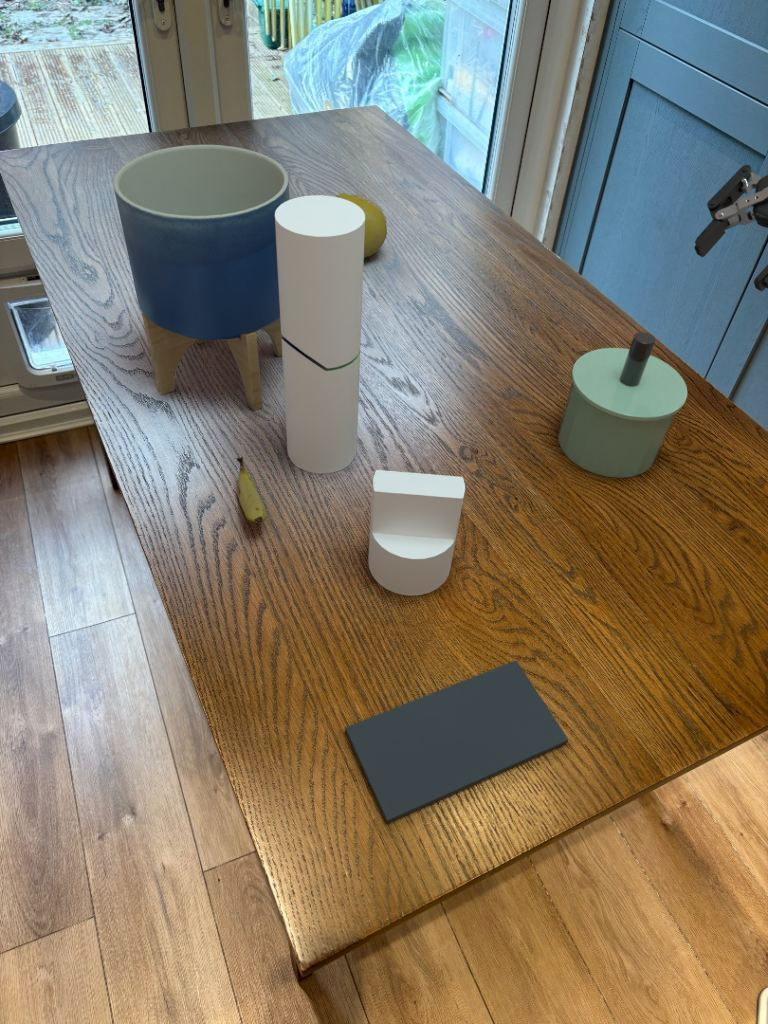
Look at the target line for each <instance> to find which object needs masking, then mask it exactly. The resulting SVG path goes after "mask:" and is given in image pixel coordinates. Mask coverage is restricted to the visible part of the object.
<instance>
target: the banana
mask: <svg viewBox="0 0 768 1024" xmlns="http://www.w3.org/2000/svg"><path fill="white" fill-rule="evenodd" d="M236 461H237V462H238V463H239V467H240V468H239V476H238V479H237V481H238V483H237V495H238V501H239V504H240V506H241V509H242V512H243V513H244V515H245V517H246V519H247V520H248V521H250V522H252V523H255V524H261V523H263V522H264V521H266V519H267V510H266V507H265V504H264V502H263V500H262V498H261V495H260V493H259V490H258V489H257V486H256V483H255V481H254V479H253V478H252V476H251V475H250V473H248V471H247V469H246V466H245V463H244V456H241V457H236Z"/></svg>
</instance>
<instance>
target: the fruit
mask: <svg viewBox="0 0 768 1024" xmlns="http://www.w3.org/2000/svg"><path fill="white" fill-rule="evenodd" d="M334 197H338V198H342V199H345V200H348V201H350V202H353V203H354V204H356V205H358V206H359V207H360V208H361V209H362V210H363V212H364V214H365V236H364V259H366V258H368V257H371V256H373V255H374V254H375V253H376V252H378V251H379V250H380V249H381V248H382V247H383V244H384V243H385V241H386V238H387V234H388V228H387V218H386V216H385V214H384V212H383V208H382V207H381V206H380V205H379V204H378V203H376V202H375V201H374V200H373V199H370V198H369V197H366V196H364V195H359V194H348V193H344V192H343V193H339V194H337V195H336V196H334ZM367 256H368V257H367ZM365 257H366V258H365Z"/></svg>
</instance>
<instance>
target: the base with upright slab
mask: <svg viewBox="0 0 768 1024" xmlns="http://www.w3.org/2000/svg"><path fill="white" fill-rule="evenodd" d="M465 491H466V485H465V479H464V477H463V476H456V475H444V474H433V473H420V472H409V471H396V470H395V471H394V470H383V469H376V470H375V472H374V474H373V479H372V490H371V509H370V521H369V538H368V539H369V541H368V555H367V556H368V557H367V562H368V569H369V572H370V574H371V576H372V577H373V579H374V580H375V581H376V582H377V584H378V585H380V586H382V587H383V588H384V589H386V590H387V591H390V592H392V593H394V594H397V595H403V596H407V597H409V596H410V597H411V596H413V597H414V596H423V595H427V594H431V593H432V592H434V591H436V590H438V589H439V588H440V587H441V586H442V585H443V584H444V583H446V581H447V579H448V577H449V576H450V573H451V572H450V571H451V567H452V562H453V556H454V551H455V545H456V541H457V534H458V530H459V524H460V518H461V513H462V509H463V503H464V497H465Z"/></svg>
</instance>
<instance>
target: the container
mask: <svg viewBox="0 0 768 1024" xmlns="http://www.w3.org/2000/svg"><path fill="white" fill-rule="evenodd" d="M275 228H276V246H277V265H278V283H279V302H280V321H281V334H282V335H283V336H284V337H285V338H283V337H281V339H282V356H281V358H282V375H283V392H284V393H283V394H284V411H285V414H284V415H285V429H286V431H285V432H286V449H287V450H286V451H287V456H288V458H289V460H290V461H291V462H292V464H293V465H295V467H297V468H298V469H301V470H302V471H305V472H307V473H312V474H319V475H324V474H333V473H337V472H340V471H342V470H344V469H345V468H347V467H349V466H350V465H351V464H352V463H353V462H354V460H355V458H356V457H357V453H358V451H357V450H358V426H359V425H358V424H359V400H360V399H359V397H360V394H359V393H360V372H361V371H360V369H361V343H362V342H361V341H362V318H363V317H362V316H363V315H362V313H363V292H364V291H363V288H364V287H363V286H364V263H365V262H364V261H365V258H364V236H365V214H364V212H363V210H362V209H361V208H360V207H359V206H358V205H356V204H354V203H353V202H350V201H348V200H345V199H342V198H338V197H335V196H331V195H321V194H319V195H318V194H317V195H316V194H314V195H313V194H312V195H304V196H298V197H294V198H290V199H289V200H288V201H286V202H284V203H283V204H281V205H280V206H279V207H278V208H277V209H276V211H275Z"/></svg>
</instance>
